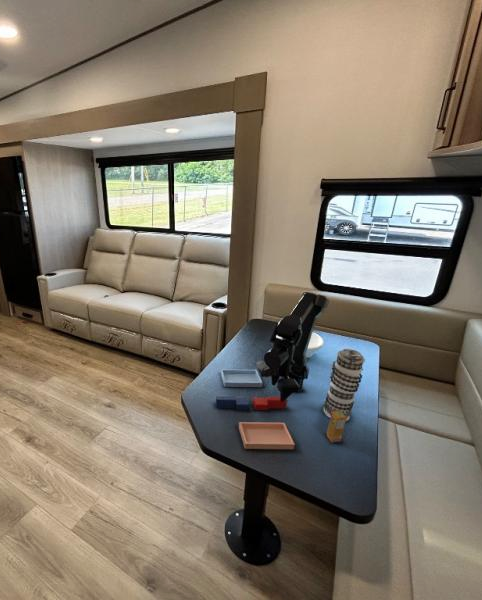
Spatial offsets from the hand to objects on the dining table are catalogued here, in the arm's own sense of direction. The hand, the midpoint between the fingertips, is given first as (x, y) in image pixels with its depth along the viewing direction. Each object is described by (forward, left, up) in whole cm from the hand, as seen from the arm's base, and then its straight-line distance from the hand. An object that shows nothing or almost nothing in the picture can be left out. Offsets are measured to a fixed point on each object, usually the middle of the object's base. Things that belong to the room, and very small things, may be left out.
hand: (277, 392), depth 114 cm
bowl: (-23, -39, -6) cm, 46 cm away
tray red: (+8, +15, -6) cm, 18 cm away
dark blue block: (+16, 0, -6) cm, 17 cm away
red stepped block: (+2, 0, -6) cm, 7 cm away
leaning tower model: (-21, +3, -6) cm, 22 cm away
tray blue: (+9, -16, -6) cm, 19 cm away
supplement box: (-14, +15, -6) cm, 21 cm away
